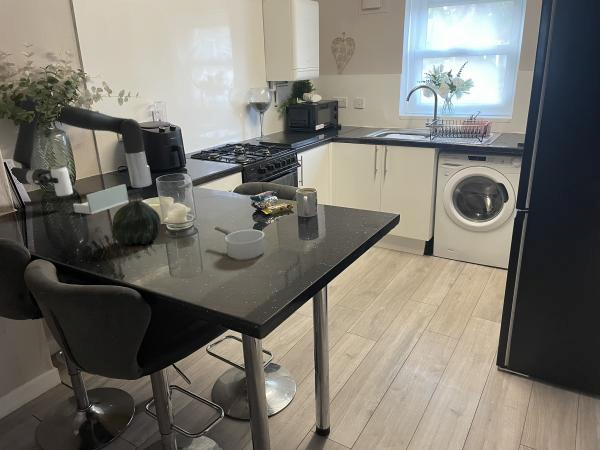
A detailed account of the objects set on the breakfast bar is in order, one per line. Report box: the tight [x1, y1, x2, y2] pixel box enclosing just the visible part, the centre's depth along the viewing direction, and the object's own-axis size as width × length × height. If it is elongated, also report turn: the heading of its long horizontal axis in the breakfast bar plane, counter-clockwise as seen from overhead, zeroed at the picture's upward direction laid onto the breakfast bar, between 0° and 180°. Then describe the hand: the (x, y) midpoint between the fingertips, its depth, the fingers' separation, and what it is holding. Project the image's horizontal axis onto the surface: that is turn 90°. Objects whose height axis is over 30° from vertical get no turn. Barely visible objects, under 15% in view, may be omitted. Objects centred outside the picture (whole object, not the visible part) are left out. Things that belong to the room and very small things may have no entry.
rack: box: [72, 183, 130, 215], centre depth 195 cm, size 19×11×8 cm, turn 151°
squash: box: [111, 199, 162, 245], centre depth 146 cm, size 14×15×15 cm
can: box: [50, 165, 74, 197], centre depth 194 cm, size 6×6×12 cm
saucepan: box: [214, 226, 266, 261], centre depth 134 cm, size 12×20×6 cm, turn 44°
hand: (63, 178), depth 192 cm, fingers closed on can, 5 cm apart
